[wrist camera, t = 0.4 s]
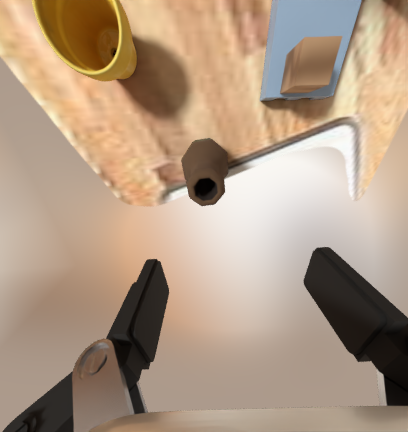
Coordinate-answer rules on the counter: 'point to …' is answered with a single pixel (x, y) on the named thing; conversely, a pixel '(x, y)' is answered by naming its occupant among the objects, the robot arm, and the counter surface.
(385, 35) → the counter surface
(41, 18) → the plant pot
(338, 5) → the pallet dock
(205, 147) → the beer bottle
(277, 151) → the counter surface
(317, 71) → the block
